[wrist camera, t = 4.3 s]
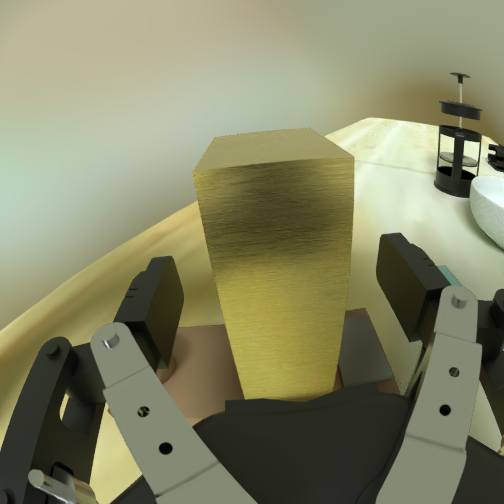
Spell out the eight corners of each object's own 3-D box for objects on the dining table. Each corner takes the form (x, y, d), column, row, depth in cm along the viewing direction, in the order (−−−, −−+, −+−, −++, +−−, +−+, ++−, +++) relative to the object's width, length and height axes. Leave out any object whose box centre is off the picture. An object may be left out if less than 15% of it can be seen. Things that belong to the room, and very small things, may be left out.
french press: (437, 177, 52) (439, 72, 40) (475, 187, 47) (481, 80, 35) (429, 192, 45) (433, 66, 33) (476, 205, 39) (484, 75, 28)
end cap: (515, 175, 54) (518, 153, 50) (496, 171, 57) (499, 148, 53) (504, 166, 61) (506, 145, 58) (486, 162, 64) (488, 141, 61)
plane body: (143, 446, 15) (96, 400, 12) (158, 373, 21) (128, 315, 17) (377, 431, 14) (406, 379, 11) (355, 356, 20) (367, 293, 17)
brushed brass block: (247, 408, 13) (192, 172, 7) (246, 323, 18) (215, 136, 12) (330, 398, 12) (354, 156, 7) (311, 316, 17) (307, 126, 12)
